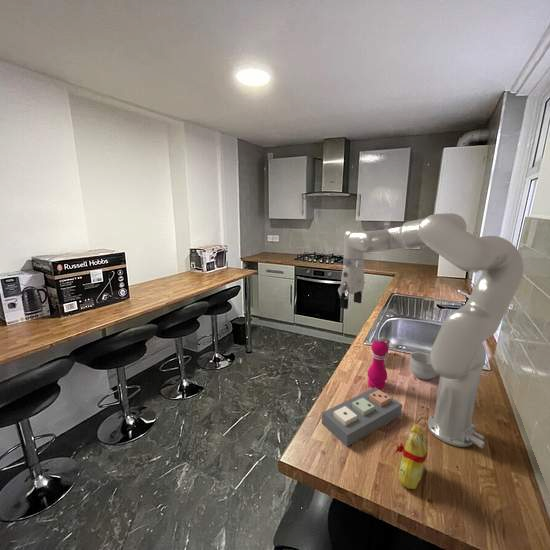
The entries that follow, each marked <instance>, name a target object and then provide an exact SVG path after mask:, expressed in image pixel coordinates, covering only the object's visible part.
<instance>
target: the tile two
mask: <svg viewBox="0 0 550 550" xmlns="http://www.w3.org/2000/svg"><path fill="white" fill-rule="evenodd" d="M352 408H353V409H354V410H356V411H357V412H358V413H359V414H361V415H362V416H363V417H364V416H366V415H368V414H370V413H372V412H374V410H375V406H374V405H373V404H371V403H370V402H368V401H367V400H366V399H364V398H361V399H359V400H357V401H355V402H353V403H352Z"/></svg>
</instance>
